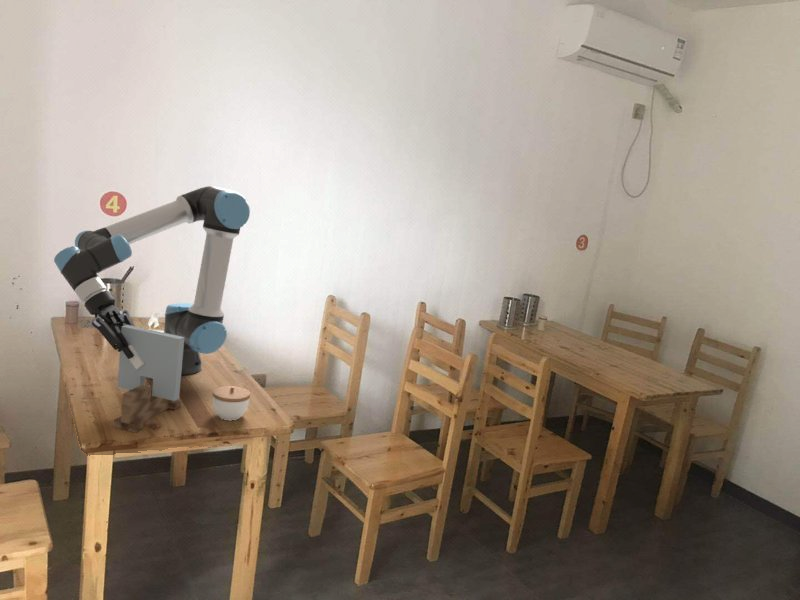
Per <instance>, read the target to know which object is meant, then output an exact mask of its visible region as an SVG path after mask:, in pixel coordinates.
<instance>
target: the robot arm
mask: <svg viewBox="0 0 800 600" xmlns="http://www.w3.org/2000/svg"><path fill="white" fill-rule="evenodd" d="M250 213H251V209H250V204H249V202H248V201H247V199H246V198H245V196H244V195H242V194H241V193H239V192H237V191H235V190H232V189H226V188H223V187H222V188H221V187H219V186H214V185H210V186H209V185H208V186H203V187H200V188H197V189H195V190H191V191H189V192H187V193H183V194H181V195H178V196H177V197H176V200H174V201H172V202H169V203H166V204H164V205H163V204H162V205H160V206H158V207H155V208H152V209H150V210H147V211H145V212H142V213H139V214H136V215H134V216H131V217H129V218H126V219H123V220H121V221H118V222H115V223H113V224H110V225H107V226H105V227H101V228H99V229H96V230H83V231H81V232H79V233H78V234H77V235H76V237H75V240H74V245H73V246H70V247H69V246H68V247H66V248H63V249H61V250H60V251H58V253H57V254H56V255H55V256H54V258H53V260H54V261H53V262H54V264H55V266H56V267H57V269H58V270H59V272H60V274H61V275H62V276H63V278H64V279H65V281H67V283H68V284H69V286H70V287H71V288H72V290H73V292H74V293H75V294H76V296H77V297H78V298H79V300H80V301H81V303H83V304H84V307H85V308H86V310H87V312H88V313H89V314H90V315H91V316H94V317H95V320H93V321H91V326H93V327H94V328H96V329H97V330H98V332H99V333H100V334H101V336H103V337H104V339H105V340H106V341H107V342H108V343H109V345H110V346H111V347H112V349H113V350H115V351H117V352H119V353H120V352H121V351H123V352H124V354H125V355H126V357H127V358H128V359H129V360H130V361H131V363H132V364H133V365H134V367H135V368H136V369H138V368H140V367H141V366H142V365H143V364H144V362H143V361H142V360H141V358H140V357H139V355H138V354H137V352H136V351H135V350H134V348H133V347H132V345H129V346H128V343H127V341H126V340H125V338H124V336H123V335H122V333H121V329H122V326H125V325H131V326H136V325H135V324H134V322H133V320H132V318H131V317H130V314H129V311H128V310H124V311H121V310H120V309H119V308H118V307H117V306H116V305H115V303H116V299H115V298H114V296H113V294H111V291H109V290H108V287H107V286H106V284H105V283H104V282H103V281H102V279H101V278H100V276H99V275H98V274H99V273H101V272H103V271H106V270H108V269H109V268H112V267H114V266H116V265H118V264H120V263H123V262H124V261H126V260H127V259H129V258H130V257H132V255H133V252H132V248H131V246H130V245H132V244H133V243H136V242H139V241H141V240H143V239H146V238H149V237H151V236H154V235H156V234H159V233H162V232H165V231H167V230H168V229H171V228H175V227H176V226H180V225H182V224H185V223H187V224H193V223H195V222H199V221H203V225H202V228H203V230H204V231H205V233H206V235H205V241H204V247H203V252H202V257H201V263H200V268H199V272H198V273H199V274H198V278H197V279H198V280H197V285H196V291H195V294H194V295H195V296H194V301H193V303H187V302H184V303H183V302H180V303H179V302H178V303H170V304H168V305H167V306H166V308H165V313H164V329H163V333H168V334H172V335H177V336H181V337H184V348H183V359H182V371H181V376H183V375H193V374H197V373H199V372H201V370H202V368H203V366H202V365H203V361H202V357H201V354H203V355H210V354H212V353H215V352H218V350H219V349H221V348H222V346H224V344H225V342H226V340H227V336H228V331H227V329H226V327H225V325H224V324H223V322H224V316H225V314H224V311H223V310H221V306H222V302H223V296H224V291H225V287H226V281H227V275H228V270H229V263H230V258H231V254H232V248H233V242H234V239H235V238H236V237H238V236H239V235H240V231H241V228H242V227H244V225H245V224H247V223H248V220H249V219H250V216H251V215H250Z"/></svg>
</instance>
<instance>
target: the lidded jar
mask: <svg viewBox="0 0 800 600" xmlns="http://www.w3.org/2000/svg"><path fill="white" fill-rule="evenodd" d="M250 397H251V392H250V390H248V389H247V388H244V387H240V386H235V385H234V386H233V385H225V386H219V387H216V388H215V389H214V390H213V392H212V407H213V410H214V412H215V413H216V415H217V416H218V417H219V419H221V420H223V419H224V421H227V420H228V421H229V422H231V421H232V420H234V421H238V420H239V419H241V417H242V416H243V415H244V414H245V413H246V412H247V410H248V408H249V404H250V399H251V398H250ZM237 419H238V420H237Z"/></svg>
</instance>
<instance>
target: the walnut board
mask: <svg viewBox="0 0 800 600" xmlns="http://www.w3.org/2000/svg"><path fill="white" fill-rule="evenodd" d="M150 381H151V383H150V384H151V385H147V384H145V385H144V384H143V385H140V386H138V387H136V388H134V389H132V390H127V391H126V392H124V393H122V399H121V411H120V412H121V413H120V414H121V416H118V417H117V418H114V419H113V420H112V421H113V423H112V427H113V428H116V429H120V430H125V431H127V432H128V431H129V432H130V433H131V432H133V433H137V432H139V431H141V430H143V429H144V423H145V422H146V421H148V420H150V419H152V418H153V417H156V416H157V415H158V414H160V413H162V412H164V411H166V410H168V409H171V410H174V411H175V410H177V409H180V408H181V407H182V400H181V399H177V400H175V401H172V400H168V399H164V398H160V397H156V396H152V388H153V379H151V380H150Z"/></svg>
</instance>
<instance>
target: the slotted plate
mask: <svg viewBox="0 0 800 600" xmlns="http://www.w3.org/2000/svg"><path fill="white" fill-rule="evenodd" d="M121 333H122V335H123V336H124V338H125V340H126V341H127V343H128V346H129V345H132V347H133V348H134V350H135V351H136V352H137V354H138V355H139V357H140V358H141V360H142V361H143V362H144V364H143V365H142V366H141V367H140V368H138V369H136V368H135V367H134V365H133V364H132V363H131V361H130V360H129V359H128V358H127V357H126V355H125V354H124V352H123V351H121V352H119V359H118V362H119V363H118V372H117V373H118V375H117V377H118V378H117V388H119V389H124V390H127V391H130V390H132V389H134V388H136V387H138V386H140V385H143V384H144V385H146V378H149V379H151V380H153V388H152V396H156V397H160V398H164V399H168V400H172V401H175V400H177V399H178V400H180V393H181V392H180V391H181V380H182V375H181V371H182V359H183V348H184V337H181V336H177V335H172V334H168V333H164V331H163V332H162V331H158V330H153V329H148V328H144V327H140V326H136V325H135V326H131V325H125V326H122V329H121Z"/></svg>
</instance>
